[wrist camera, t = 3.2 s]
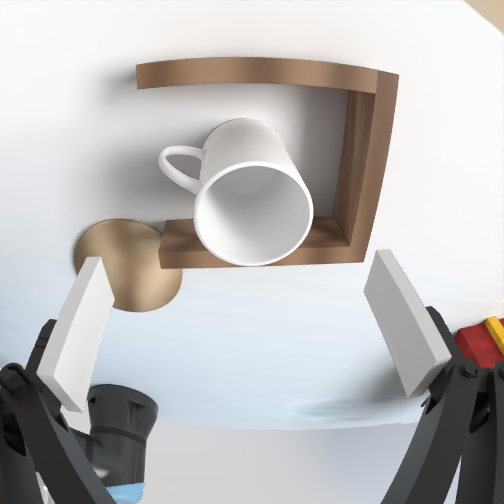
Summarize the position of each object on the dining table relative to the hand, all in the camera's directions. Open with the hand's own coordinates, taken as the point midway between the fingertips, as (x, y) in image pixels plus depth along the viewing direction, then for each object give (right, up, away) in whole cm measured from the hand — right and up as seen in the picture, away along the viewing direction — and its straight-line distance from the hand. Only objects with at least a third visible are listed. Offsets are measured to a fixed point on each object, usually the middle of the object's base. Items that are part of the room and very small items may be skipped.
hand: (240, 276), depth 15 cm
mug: (-2, +11, +16) cm, 19 cm away
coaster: (-15, -1, +23) cm, 27 cm away
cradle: (+2, +11, +16) cm, 19 cm away
